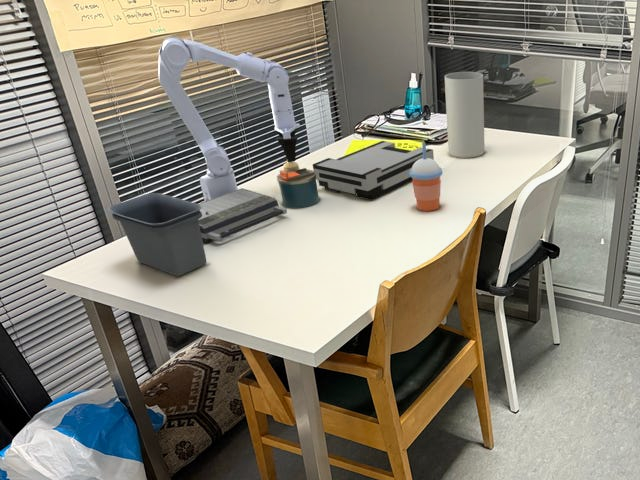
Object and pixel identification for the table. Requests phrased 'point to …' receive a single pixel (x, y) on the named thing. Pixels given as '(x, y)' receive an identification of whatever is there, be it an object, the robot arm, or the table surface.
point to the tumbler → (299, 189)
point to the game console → (369, 170)
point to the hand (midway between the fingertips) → (291, 157)
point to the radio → (235, 213)
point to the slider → (288, 174)
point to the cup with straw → (426, 182)
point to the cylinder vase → (465, 114)
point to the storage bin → (163, 231)
